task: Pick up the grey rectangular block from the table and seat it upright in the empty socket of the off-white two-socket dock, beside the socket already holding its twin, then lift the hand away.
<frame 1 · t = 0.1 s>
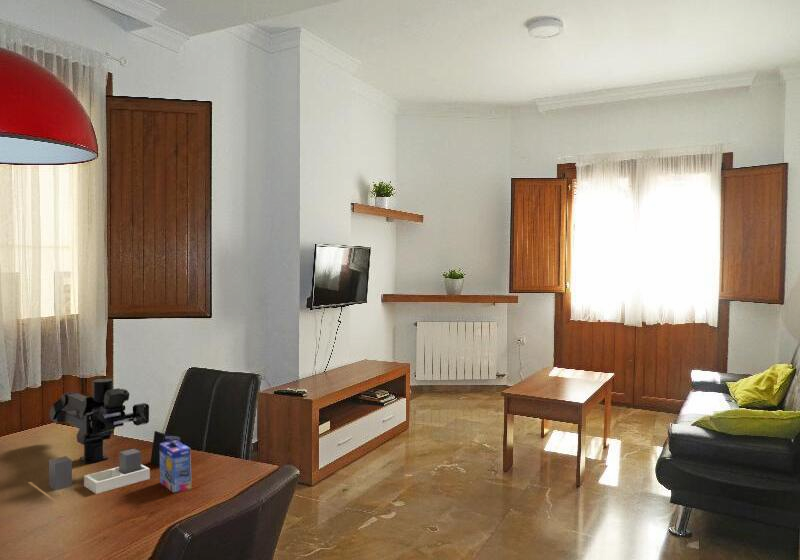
hand: (130, 424, 173), 17 cm above the table, tool horizontal, fingers open, 9 cm apart
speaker: (166, 463, 188), on the table
dock: (117, 483, 171), on the table
twin plug: (130, 478, 173), resting on dock
ink cartridge box: (174, 487, 169), on the table
grey rectangular block: (60, 487, 167), on the table
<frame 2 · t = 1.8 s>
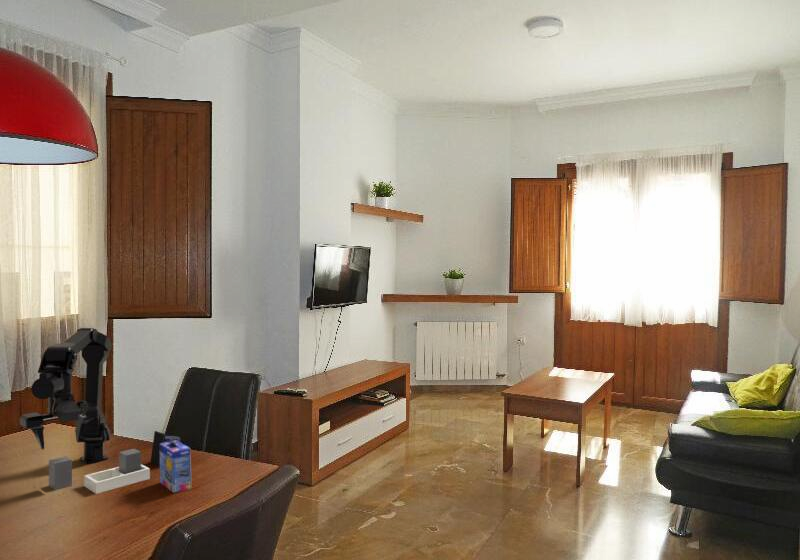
hand: (60, 445, 167), 12 cm above the table, tool pointing down, fingers open, 9 cm apart
nothing on the table moved.
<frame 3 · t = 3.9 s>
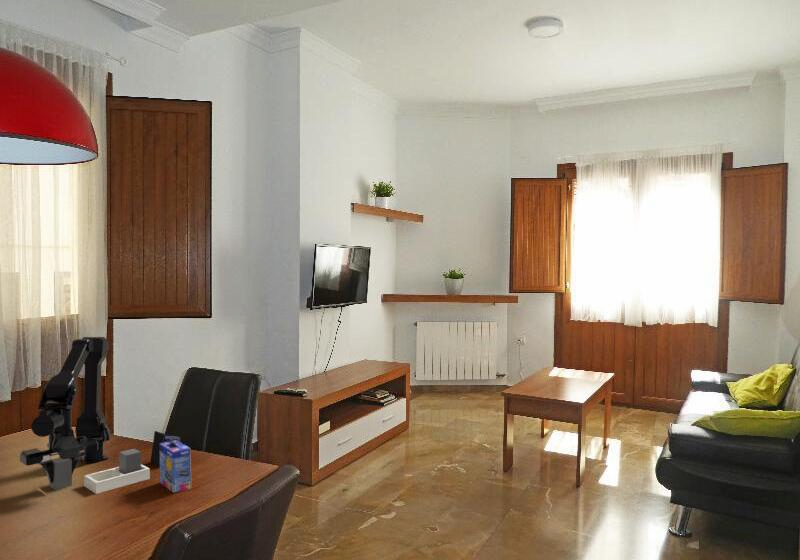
hand: (60, 480, 167), 2 cm above the table, tool pointing down, fingers closed on grey rectangular block, 4 cm apart
grey rectangular block: (60, 487, 167), on the table, touching gripper
everything else where it was.
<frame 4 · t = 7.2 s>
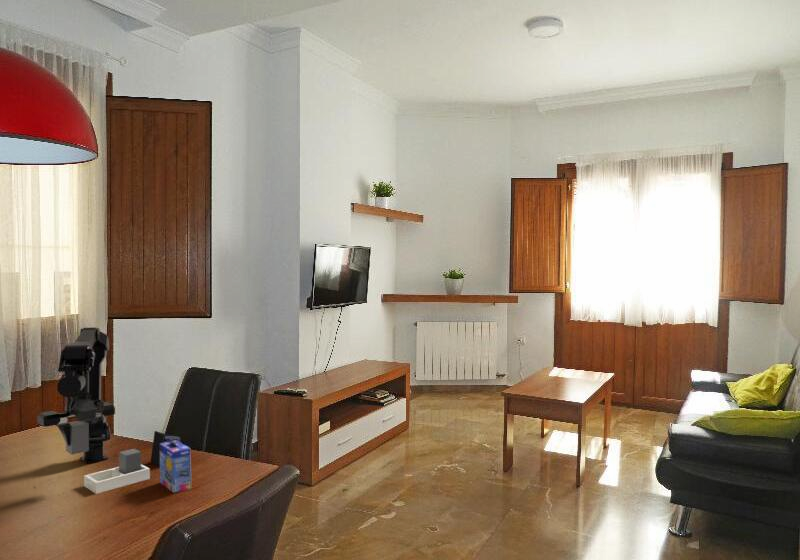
hand: (77, 443, 167), 13 cm above the table, tool pointing down, fingers closed on grey rectangular block, 4 cm apart
grey rectangular block: (77, 451, 167), point 11 cm above the table, touching gripper
everything else where it was.
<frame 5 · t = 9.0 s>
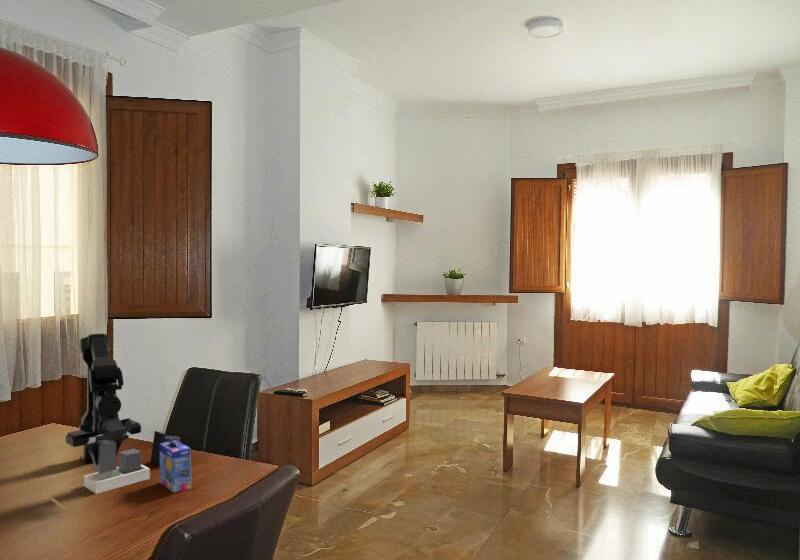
hand: (104, 462, 168), 7 cm above the table, tool pointing down, fingers closed on grey rectangular block, 4 cm apart
grey rectangular block: (104, 469, 168), point 5 cm above the table, touching gripper
everything else where it was.
when the fingers open (4 cm above the table, at t = 10.5 s): grey rectangular block drops 1 cm, resting on dock.
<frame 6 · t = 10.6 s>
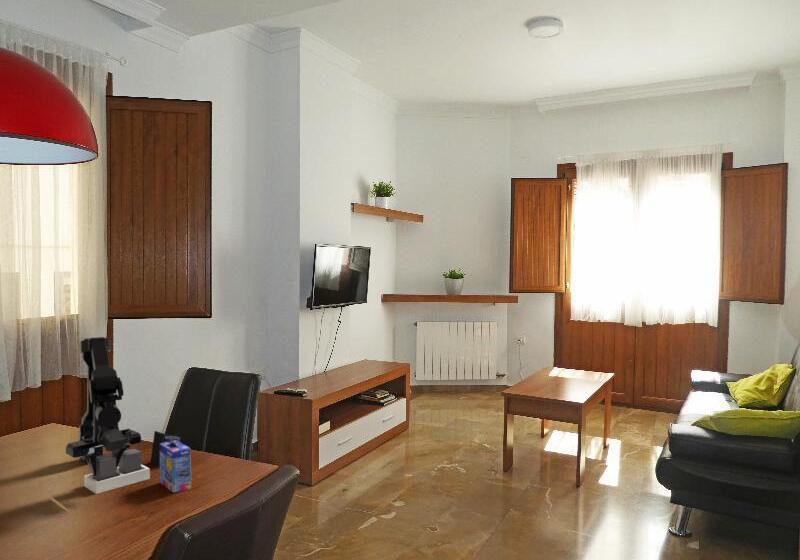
hand: (104, 472, 168), 4 cm above the table, tool pointing down, fingers open, 5 cm apart
twin plug: (130, 478, 173), point 1 cm above the table, touching dock, gripper
grey rectangular block: (104, 485, 168), point 1 cm above the table, touching dock
everything else where it was.
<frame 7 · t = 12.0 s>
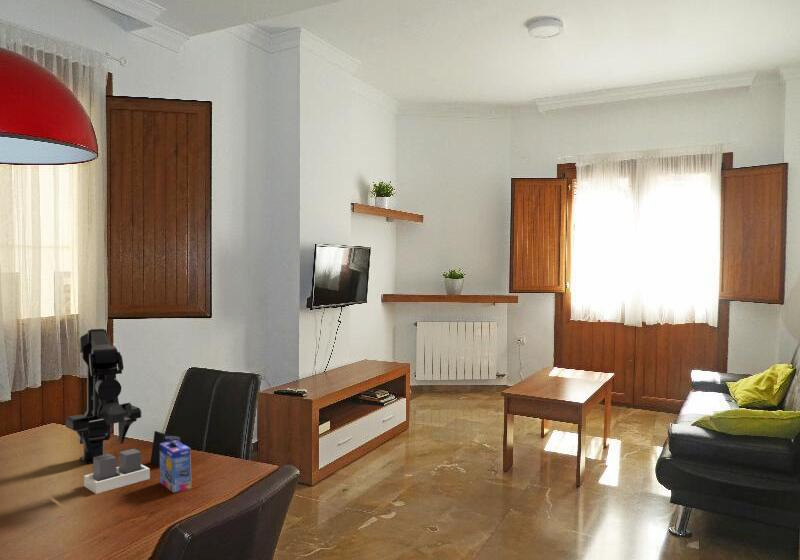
hand: (104, 447, 167), 12 cm above the table, tool pointing down, fingers open, 9 cm apart
twin plug: (130, 478, 173), resting on dock
everything else where it was.
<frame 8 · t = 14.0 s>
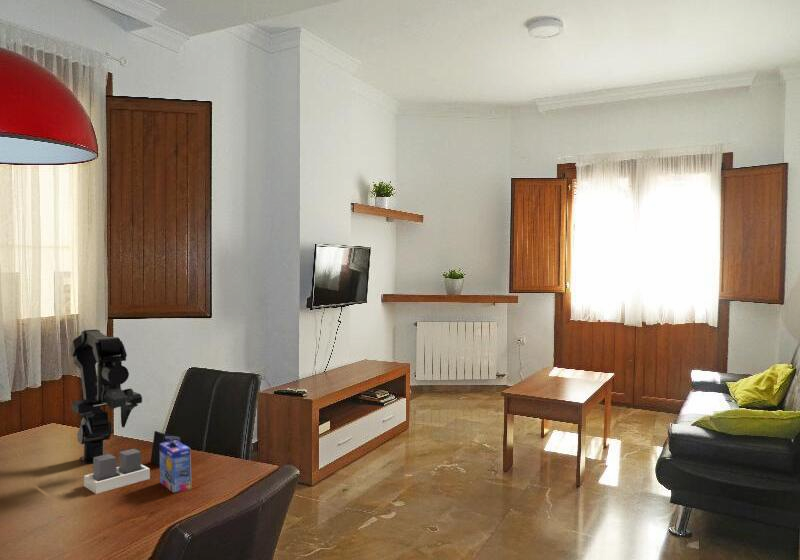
hand: (107, 430, 179), 13 cm above the table, tool pointing down, fingers open, 9 cm apart
nothing on the table moved.
at the end: grey rectangular block 0.0 cm from the target spot on the dock, point 0.7 cm above the dock's base; grey rectangular block tilted 0°; twin plug moved 0.0 cm from its start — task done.
